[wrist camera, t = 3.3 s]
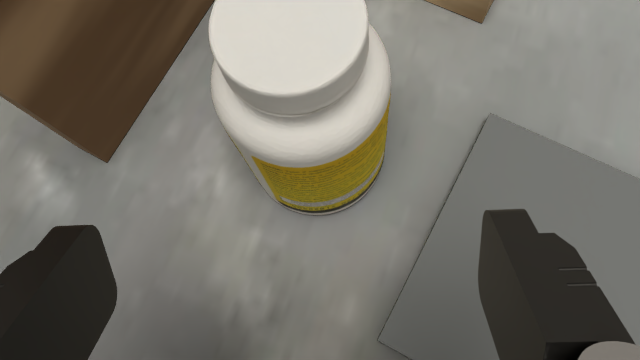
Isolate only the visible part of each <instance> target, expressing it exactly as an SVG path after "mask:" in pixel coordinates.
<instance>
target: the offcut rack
mask: <svg viewBox="0 0 640 360" xmlns="http://www.w3.org/2000/svg"><path fill="white" fill-rule="evenodd" d="M213 1H214V0H0V96H1V97H3V98H4V99H6V100H7V101H9V102H10V103H12V104H13V105H15V106H16V107H18V108H19V109H21V110H22V111H24V112H26V113H27V114H29V115H30V116H32V117H33V118H35V119H36V120H38V121H39V122H41V123H42V124H44V125H45V126H47V127H48V128H50V129H51V130H53V131H54V132H56V133H57V134H59V135H60V136H62V137H63V138H65V139H66V140H68V141H69V142H71V143H72V144H74V145H76V146H77V147H79V148H81V149H82V150H84V151H86V152H88V153H90V154H92V155H93V156H95V157H97V158H99V159H101V160H103V161H105V162H106V163H107V162H108V161H109V159H110V158H111V156H112V155H113V153H114V152H115V150H116V149H117V147H118V146H119V144H120V143H121V141H122V140H123V138H124V136H125V135H126V133H127V132H128V130H129V129H130V127H131V126H132V124H133V123H134V121H135V120H136V118H137V117H138V115H139V114H140V112H141V111H142V109H143V108H144V106H145V105H146V103H147V102H148V100H149V98H150V97H151V95H152V94H153V92H154V91H155V89H156V88H157V86H158V85H159V83H160V82H161V80H162V79H163V77H164V76H165V74H166V73H167V71H168V70H169V68H170V67H171V65H172V64H173V62H174V60H175V59H176V57H177V56H178V54H179V53H180V51H181V50H182V48H183V47H184V45H185V44H186V42H187V41H188V39H189V38H190V36H191V35H192V33H193V32H194V30H195V29H196V27H197V26H198V24H199V22H200V21H201V19H202V18H203V16H204V15H205V13H206V12H207V10H208V9H209V7H210V6H211V4H212V3H213ZM426 1H428V2H431V3H433V4H435V5H438V6H440V7H443V8H445V9H448V10H450V11H453V12H455V13H457V14H460V15H462V16H465V17H467V18H470V19H472V20H475V21H477V22H480V23H482V22H483V20H484V18H485V16H486V14H487V12H488V10H489V8H490V7H491V5H492V3H493V1H494V0H426Z"/></svg>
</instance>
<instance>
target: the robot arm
mask: <svg viewBox="0 0 640 360" xmlns="http://www.w3.org/2000/svg"><path fill="white" fill-rule="evenodd" d="M478 287H479V294H480V300H481V303H482V307H483V310H484V313H485V316H486V319H487V322H488V325H489V328H490V331H491V335H492V338H493V341H494V344H495V347H496V350H497V353H498V356H499V359H500V360H640V346H638V345H636V344H635V342H634V341H633V339H632V338H631V336H630V334H629V333H628V331H627V330H626V328H625V327H624V325H623V323H622V322H621V320H620V319H619V317H618V315H617V314H616V312H615V311H614V309H613V307H612V306H611V304H610V303H609V301H608V299H607V298H606V296H605V295H604V293H603V291H602V290H601V288H600V287H599V286H597V282H596V280H595V279H594V277H593V276H592V274H591V272H590V271H587V266H586V264H585V263H584V261H583V260H582V258H581V256H580V255H579V253H578V252H577V250H576V249H575V248H574V247H573V246H572V245H570V244H569V243H568V242H566V241H565V240H564V239H562V238H561V237H559V236H558V235H557V234H555V233H538V231H537V229H536V227H535V225H534V224H533V222H532V220H531V218H530V216H529V214H528V213H527V211H526V210H525V209H501V210H486V211H485V212H484V214H483V220H482V231H481V243H480V255H479V267H478ZM116 300H117V286H116V282H115V278H114V275H113V272H112V269H111V266H110V263H109V260H108V257H107V254H106V251H105V247H104V244H103V241H102V238H101V235H100V233H99V231H98V229H97V228H96V227H95V226H93V225H74V226H56V227H54V228H53V229H51V230H50V232H49V233H48V234H47V235H46V236H45V238H44V239H43V240H42V241H41V242H40V243H39V245H38V246H37V247H36V248H35V249H34V250H33V251H29V252H28V253H26V254H25V255H23V256H22V257H21V258H19V259H18V260H16V261H15V262H13V263H12V264H10V265H9V266H7V267H6V269H5V270H4V271H3V272H2V273H1V274H0V360H88V358H89V356H90V354H91V352H92V350H93V349H94V347H95V345H96V343H97V341H98V339H99V338H100V336H101V334H102V332H103V330H104V328H105V326H106V325H107V323H108V321H109V319H110V317H111V315H112V314H113V311H114V309H115V305H116Z"/></svg>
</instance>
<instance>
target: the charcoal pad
mask: <svg viewBox="0 0 640 360" xmlns="http://www.w3.org/2000/svg"><path fill="white" fill-rule="evenodd" d="M501 209H525V210H526V211H527V213H528V214H529V216H530V218H531V220H532V222H533V224H534V225H535V227H536V229H537V231H538V233H555V234H557V235H558V236H559V237H561V238H562V239H564V240H565V241H566V242H568V243H569V244H570V245H572V246H573V247H574V248H575V249H576V250H577V252H578V253H579V255H580V256H581V258H582V260H583V261H584V263H585V264H586V266H587V271H590V272H591V274H592V276H593V277H594V279H595V280H596V282H597V286H599V287H600V288H601V290H602V291H603V293H604V295H605V296H606V298H607V299H608V301H609V303H610V304H611V306H612V307H613V309H614V311H615V312H616V314H617V315H618V317H619V319H620V320H621V322H622V323H623V325H624V327H625V328H626V330H627V331H628V333H629V334H630V336H631V338H632V339H633V341H634V342H635V344H636V345H638V346H640V179H639V178H636V177H634V176H632V175H630V174H627V173H625V172H623V171H621V170H618V169H616V168H614V167H612V166H609V165H607V164H605V163H602V162H600V161H598V160H596V159H593V158H591V157H589V156H587V155H584V154H582V153H580V152H578V151H575V150H573V149H571V148H569V147H566V146H564V145H562V144H559V143H557V142H555V141H553V140H550V139H548V138H546V137H544V136H541V135H539V134H537V133H535V132H532V131H530V130H528V129H526V128H523V127H521V126H519V125H516V124H514V123H512V122H510V121H507V120H505V119H503V118H501V117H498V116H496V115H494V114H492V113H490V114H489V116H488V118H487V120H486V122H485V124H484V126H483V128H482V130H481V132H480V134H479V136H478V138H477V140H476V142H475V144H474V146H473V148H472V150H471V152H470V154H469V156H468V158H467V160H466V162H465V164H464V166H463V168H462V170H461V172H460V174H459V176H458V178H457V180H456V182H455V184H454V186H453V188H452V190H451V192H450V194H449V196H448V198H447V200H446V202H445V204H444V206H443V209H442V211H441V213H440V215H439V217H438V219H437V221H436V223H435V225H434V227H433V229H432V231H431V233H430V235H429V237H428V239H427V241H426V243H425V245H424V247H423V249H422V251H421V253H420V255H419V257H418V259H417V261H416V263H415V265H414V267H413V269H412V271H411V273H410V275H409V277H408V279H407V281H406V283H405V285H404V287H403V289H402V291H401V293H400V295H399V297H398V299H397V301H396V303H395V305H394V307H393V309H392V311H391V314H390V316H389V318H388V320H387V322H386V324H385V326H384V328H383V330H382V332H381V334H380V336H379V338H378V341H379V342H381V343H383V344H385V345H387V346H388V347H390V348H392V349H394V350H396V351H397V352H399V353H401V354H403V355H405V356H406V357H408V358H410V359H412V360H500V359H499V356H498V353H497V350H496V347H495V344H494V341H493V338H492V335H491V331H490V328H489V325H488V322H487V319H486V316H485V313H484V310H483V307H482V303H481V300H480V294H479V287H478V267H479V255H480V243H481V231H482V220H483V214H484V212H485V211H486V210H501Z"/></svg>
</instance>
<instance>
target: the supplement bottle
mask: <svg viewBox="0 0 640 360" xmlns="http://www.w3.org/2000/svg"><path fill="white" fill-rule="evenodd" d="M209 42H210V47H211V50H212V53H213V56H214V58H215V59H214V62H213V66H212V72H211V94H212V99H213V103H214V107H215V110H216V113H217V115H218V117H219V119H220V121H221V123H222V125H223V127H224V129H225V130H226V132H227V134H228V135H229V137H230V138H231V140H232V141H233V143H234V144H235V146H236V147H237V149H238V150H239V152H240V153H241V155H242V156H243V158H244V160H245V161H246V162H247V164H248V166H249V167H250V169H251V170H252V172H253V173H254V175H255V177H256V178H257V180H258V181H259V183H260V184H261V186H262V187H263V188H264V189H265V191H266V192H267V193H268V194H269V195H270V196H271V197H272V198H273V199H274V200H275V201H276V202H278V203H279V204H281V205H282V206H284V207H286V208H288V209H290V210H292V211H295V212H298V213H302V214H308V215H325V214H331V213H335V212H338V211H341V210H343V209H346V208H348V207H350V206H351V205H353V204H354V203H356V202H357V201H359V200H360V199H361V198H362V197H363V196H364V195H365V194H366V193H367V192H368V191H369V190H370V188H371V187H372V186H373V184H374V182H375V181H376V179H377V177H378V175H379V172H380V169H381V167H382V163H383V159H384V152H385V142H386V134H387V123H388V112H389V104H390V95H391V71H390V64H389V59H388V55H387V52H386V49H385V47H384V44H383V43H382V41H381V39H380V37H379V35H378V34H377V32H376V31H375V30H374V28H373V27H372V26H371V25H370V23H369V21H368V11H367V7H366V3H365V0H216V1H215V3H214V5H213V9H212V12H211V15H210V20H209Z"/></svg>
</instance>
